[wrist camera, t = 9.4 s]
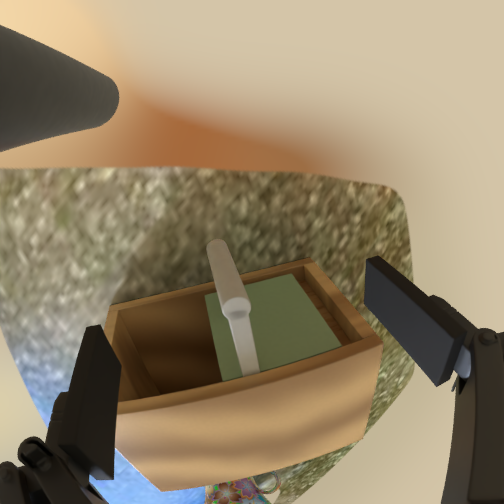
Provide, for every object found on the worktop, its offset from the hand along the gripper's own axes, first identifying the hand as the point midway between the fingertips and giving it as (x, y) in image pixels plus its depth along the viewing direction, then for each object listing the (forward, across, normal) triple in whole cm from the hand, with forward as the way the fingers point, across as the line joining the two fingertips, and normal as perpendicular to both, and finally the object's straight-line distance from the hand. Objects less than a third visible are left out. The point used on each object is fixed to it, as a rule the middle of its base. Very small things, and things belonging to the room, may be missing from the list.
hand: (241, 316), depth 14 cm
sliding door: (+10, +2, -2) cm, 11 cm away
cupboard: (+11, -1, -11) cm, 16 cm away
